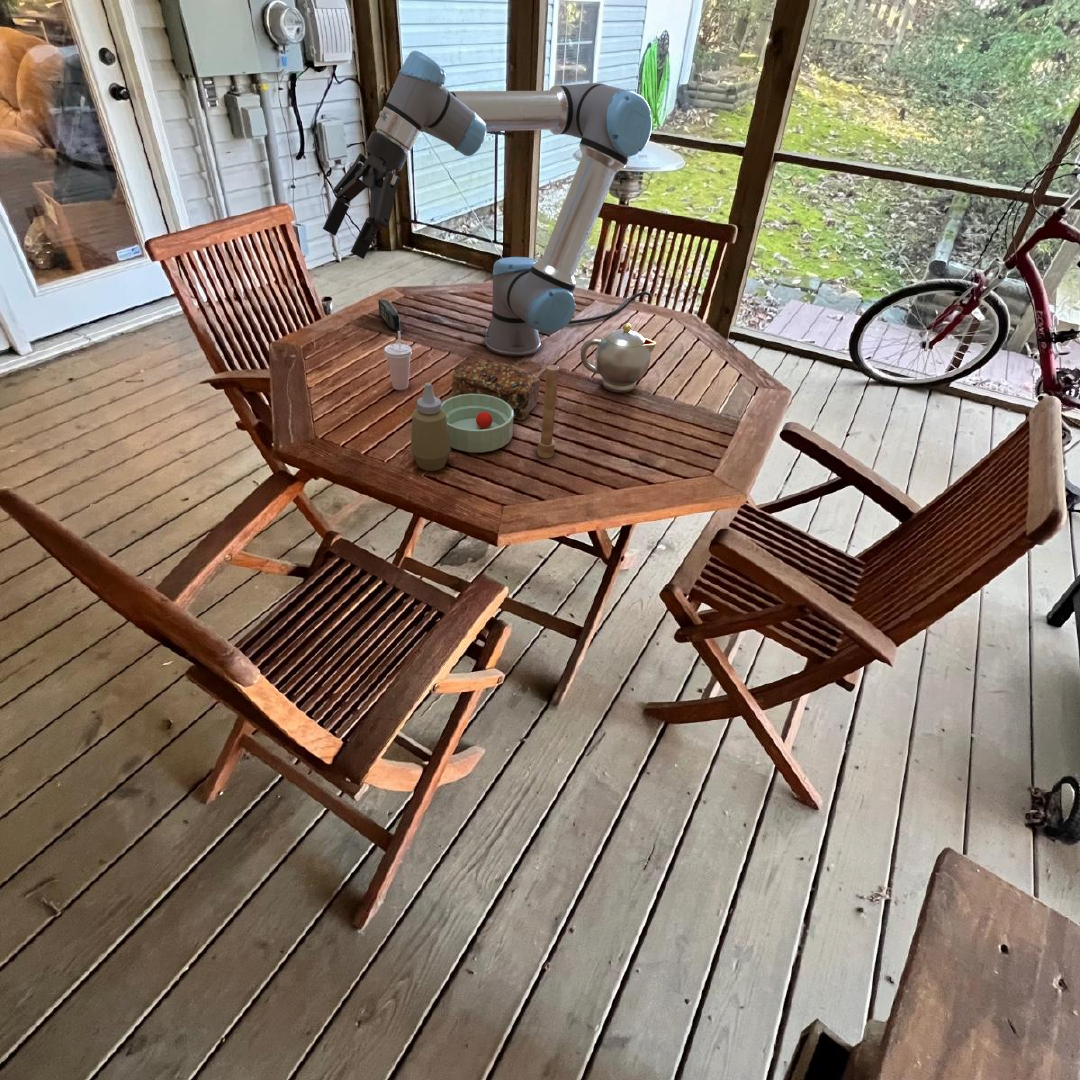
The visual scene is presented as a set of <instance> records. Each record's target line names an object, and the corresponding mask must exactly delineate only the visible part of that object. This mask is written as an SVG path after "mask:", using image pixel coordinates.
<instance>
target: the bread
mask: <svg viewBox="0 0 1080 1080" xmlns="http://www.w3.org/2000/svg"><path fill="white" fill-rule="evenodd" d="M450 387H451V397H454V396H458V395H463V394H485V395H490V396H494V397H497V398H499V399H502V400H504V401H505V402H506V403H508V404H509V405H510V406H511V408H512V409H513V419H516V420H517V421H523V420H526V418H528V417H529V415H530V413H531V411H532V410H534V409H535V407H536V406H537V403H538V400H539V395H540V387H541V380H540V378H538V376H537V375H536V374H534V373H532V372H531V371H527V370H526V369H522V368H520V367H519V366H515V365H512V364H507V363H504V362H499V361H494V360H484V359H480V358H479V357H471V358H470V357H469V358H467V359H464V360H462V361H460V362H459V363H458V364H457V365H456V366H455V367H454V368H453V372H452V377H451V386H450Z"/></svg>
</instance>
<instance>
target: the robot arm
mask: <svg viewBox="0 0 1080 1080" xmlns="http://www.w3.org/2000/svg"><path fill="white" fill-rule="evenodd" d="M446 79H447V73H446V72H445V70H444V69H443V68H442V67H441V66H440V64H438V63H437V62H436V61H435V60H434V59H432V58H430V57H429V56H428V55H426V54H425V53H423V52H421V51H419V50H412V51H410V52H409V54H408V56H407V58H405V61H404V62H403V64H402V66H401V68H400V69H399V71H398V75H397V77H396V80H395V81H394V84H393V86H392V88H391V91H390V93H389V95H388V98H387V100H386V102H385V103H384V106H383V108H382V110H380V111H379V113H378V114H379V117H378V119H377V121H376V123H375V129H376V130H373V131H371V133H370V135H369V137H368V138H367V141H366V144H365V146H364V147H365V150H366V151H367V152H368V153H369V155H368V156H366V155H365V154H363V153H362V152H359V154H358V155H357V157H356V159H355V161H354V162H353V164H352V165H351V166H350V167H349V169H348V170H347V172H346V173H344V175H343V176H342V178H341V179H340V180H339V181H338V183H337V184H336V185H335V186H334V187H333V193H334V194H335V198H336V199H335V201H334V203H333V206H332V208H331V210H330V212H329V214H328V216H327V218H326V220H325V223H324V224H323V227H322V230H324V231H325V232H327V233H329V234H331V235H332V236H334V237H336V236H337V234H338V232H339V230H340V227H341V225H342V223H343V221H344V219H345V216H346V215H347V213H348V210H349V208H350V206H351V201H352V200H354V199H355V198H356V197H357V196H359V195H360V194H361V193H362V192H363V191H364V190H365V189H369V191H370V200H369V214H368V217H366V218H365V221H364V223H363V225H362V227H361V228H360V232H359V233H358V235H357V237H356V239H355V242H354V243H353V245H352V248H351V250H350V253H351V254H353V255H354V256H356V257H358V258H360V259H362V260H364V259H365V258H366V255H367V253H368V251H369V249H370V247H371V245H372V243H373V241H374V240H375V237H376V235H377V234H378V231H379V230H380V229H382V228H384V229H385V230H387V229H388V228H389V226H390V221H391V217H392V212H393V207H394V202H395V198H396V193H397V189H398V187H399V184H400V183H401V177H399V176H398V175H397V174H395V173H394V170H395V171H397V172H400V171H402V169H403V167H404V165H405V164H406V161H407V159H408V153H407V152H409V151H412V149H413V147H414V145H415V143H416V140H417V138H418V136H419V134H420V132H422V133H425V134H427V135H429V136H432V137H433V138H436V139H438V140H439V141H442V142H444V143H447V144H448V145H449V146H451V147H452V148H453V149H454V151H456V152H459V153H460V154H462V155H463V156H465V157H471V156H474V155H475V154H476V153H477V152H478V151H479V150H480V149H481V147H482V146H483V143H484V142H485V139H486V136H487V132H515V131H516V132H517V131H519V132H520V131H521V132H522V131H549V132H550V133H551V134H553V135H558V136H559V135H564V136H571V137H575V138H578V139H581V140H580V142H579V144H578V145H579V149H580V153H581V158H580V161H579V163H578V165H577V168H576V171H575V173H574V176H573V177H572V178H573V179H572V181H571V183H570V185H569V189H568V191H567V193H566V196H565V198H564V201H563V204H562V206H561V209H560V211H559V214H558V216H557V219H556V221H555V224H554V226H553V229H552V231H551V234H550V237H549V238H548V242H547V244H546V247H545V249H544V252H543V255H542V257H541V259H540V260H539V261H538V260H537V259H535V258H533V257H527V256H526V257H525V256H510V257H502V258H499V259H498V260H496V261H495V262H494V264H493V267H492V268H493V270H492V301H491V302H492V305H491V307H492V310H491V312H492V313H491V318H490V321H489V324H488V327H487V328H486V329H485V330H484V332H483V337H484V346H485V348H486V349H487V350H488V351H490V352H491V353H493V354H496V355H500V356H502V357H503V356H504V357H510V358H512V357H513V358H521V357H527V356H531V355H534V354H536V353H537V352H538V351H539V350H540V349H541V337H540V335H545V334H547V335H549V334H550V335H551V334H554V333H558V332H559V331H560V330H563V329H564V328H565V327H567V326H568V325H573V324H582V323H587V322H594V321H599V320H601V319H605V318H608V317H611V316H613V315H615V314H617V313H619V312H620V311H621V310H623V309H624V308H625V307H626V306H627V305H628V303H629V302H630V301H632V300H634V299H636V298H638V297H641V296H647V297H648V298H652V297H653V296H652V294H651V293H650V292H648V291H640V292H638V293H636V294H633V295H631V296H629V297H627V298H626V299H625V301H624V302H623V303H622V304H621V305H620V306H618V308H617V307H616V308H615V309H614V310H612V311H610V312H608V313H605V314H602V315H598V316H593V317H587V318H581V319H573V318H574V315H575V311H576V302H575V301H576V299H575V297H574V295H573V294H574V291H575V289H576V287H577V281H576V279H575V272H576V271H577V267H578V265H579V263H580V260H581V258H582V255H583V253H584V250H585V248H586V246H587V244H588V241H589V239H590V236H591V234H592V231H593V229H594V228H595V227H594V226H595V225H596V222H597V220H598V217H599V215H600V213H601V210H602V208H603V205H604V203H605V200H606V198H607V195H608V193H609V190H610V188H611V187H612V183H613V182H614V179H615V177H616V174H617V173H618V172H620V171H622V170H624V169H625V168H626V167H627V165H628V162H629V160H630V158H631V157H633V156H635V155H637V154H639V152H642V151H643V149H644V148H645V147H646V145H647V144H648V142H649V141H650V138H651V137H650V136H651V135H652V134H651V133H652V127H653V118H652V115H651V108H650V106H649V103H648V102H647V101H646V99H645V98H644V97H643V96H641V94H638V93H636V92H634V91H631V90H630V89H628V88H621V87H616V86H611V85H608V84H605V83H601V82H585V83H575V84H561V85H560V84H559V85H553V86H552V87H551V88H549V90H461V91H460V90H455V91H454V90H451V91H449V90H448V88H446V87H445V86H444V85H445V82H446Z"/></svg>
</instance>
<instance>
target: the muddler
mask: <svg viewBox="0 0 1080 1080" xmlns="http://www.w3.org/2000/svg"><path fill="white" fill-rule="evenodd" d="M559 371H560V367H559V366H558V365H555V364H549V365H547V366H546V373H545V384H544V395H543V396H544V397H543V409H542V424H541V436H540V438H539V439H538V441H537V449H536V450H537V451H536V454H537V455H538V457H540V458H543V459H550V458H552V457H554V455H555V447H556V446H555V445H556V442H555V441H556V440H555V439H553V436H554V427H555V416H556V406H557V405H556V404H557V403H556V402H557V393H558V384H559V382H558V381H559Z"/></svg>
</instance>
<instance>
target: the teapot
mask: <svg viewBox="0 0 1080 1080" xmlns="http://www.w3.org/2000/svg"><path fill="white" fill-rule="evenodd" d="M656 345H657V342H655V341H653V340H651V339H648V338H645V337H644V336H642V334H640V333H639V332H637V331H635V330H632V324H630V323H625V324H624V325H623V326H622V328H619V329H615V330H612V331H610V332H609V333H607V334H606V335H605V336H604V337H602V339H601V338H591V339H588V340H586V341H585V342H584V343H583V345H582V346H581V348H580V354H579V355H580V360H581V363H582V366H583V367H584V368H585V369H586V370H588V371H589V372H591V373H593V374H596V375H600V376H601V385H602V387H603V388H604V389H606V390H608V391H609V392H612V393H617V394H627V393H630V392H632V391H634V390H635V389H636V387H637V382H638V381H640V380H641V379H642V378H643V377H644V376H645V374H646V373H647V371H648V369H649V367H650V363H651V353H652V352H653V351H654V349H655V348H656ZM592 346H597V347H596V350H595V354H594V362H595V366H594V365H592V364H591V363H590V362H589V360H588V357H587V352H588V349H589V348H590V347H592Z"/></svg>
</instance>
